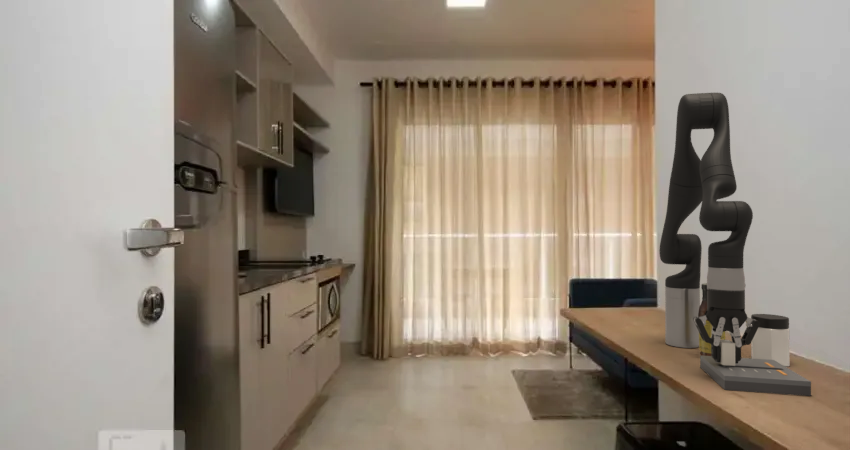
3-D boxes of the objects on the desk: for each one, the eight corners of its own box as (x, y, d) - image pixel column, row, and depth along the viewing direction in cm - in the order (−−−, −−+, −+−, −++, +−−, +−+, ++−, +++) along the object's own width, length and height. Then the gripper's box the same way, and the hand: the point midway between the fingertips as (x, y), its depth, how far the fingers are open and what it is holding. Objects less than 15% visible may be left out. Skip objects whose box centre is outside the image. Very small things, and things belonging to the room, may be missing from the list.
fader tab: (716, 366, 117) (716, 339, 117) (729, 366, 116) (729, 339, 116) (722, 370, 113) (722, 342, 113) (735, 371, 112) (735, 343, 112)
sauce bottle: (719, 354, 137) (718, 282, 137) (730, 360, 131) (730, 285, 131) (694, 354, 138) (693, 282, 138) (704, 359, 131) (704, 284, 132)
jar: (797, 364, 127) (797, 317, 127) (781, 368, 123) (780, 320, 123) (759, 356, 135) (759, 312, 135) (743, 360, 131) (743, 315, 131)
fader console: (700, 367, 124) (700, 354, 124) (773, 372, 120) (773, 359, 120) (724, 389, 107) (724, 375, 107) (811, 396, 103) (811, 381, 103)
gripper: (753, 286, 117) (753, 360, 116) (687, 284, 120) (688, 356, 120) (767, 290, 109) (767, 368, 109) (696, 288, 113) (696, 364, 113)
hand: (725, 361), depth 115 cm, fingers open, 3 cm apart
